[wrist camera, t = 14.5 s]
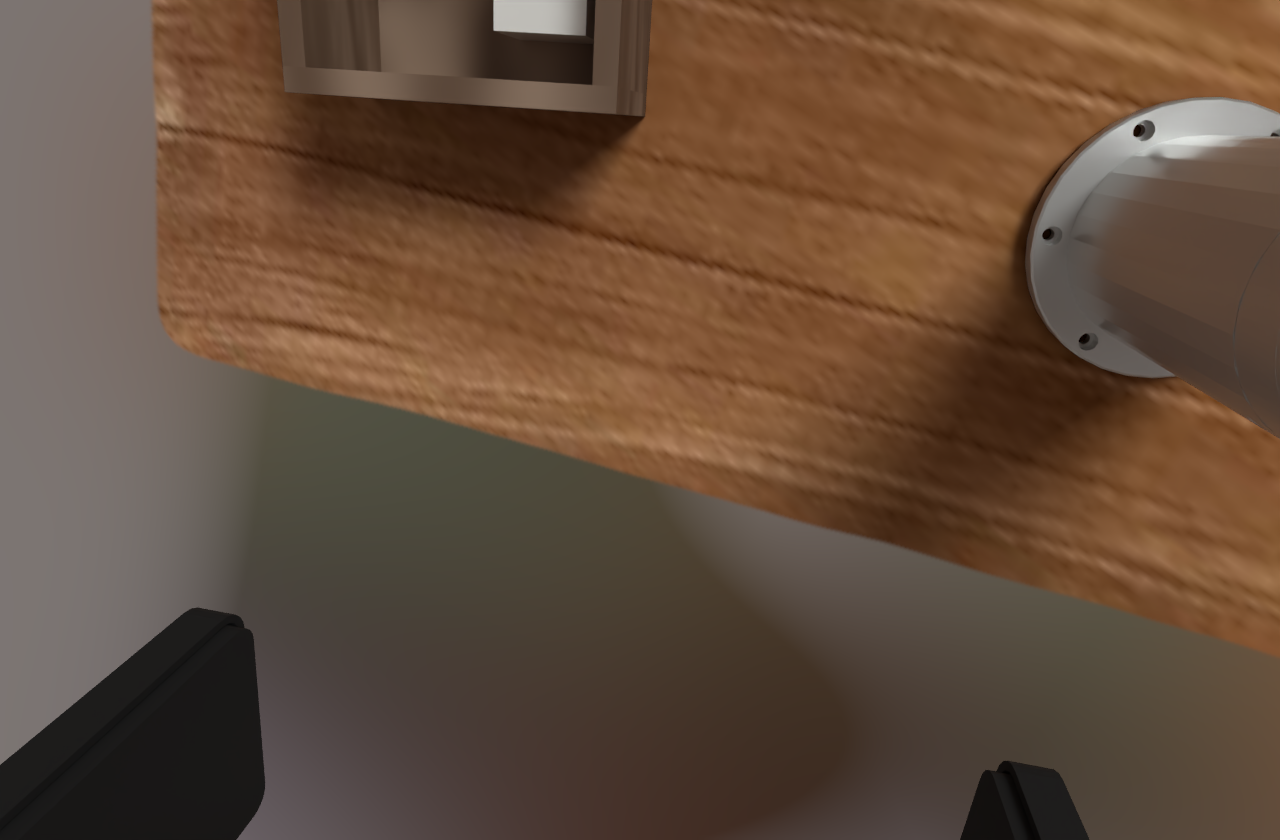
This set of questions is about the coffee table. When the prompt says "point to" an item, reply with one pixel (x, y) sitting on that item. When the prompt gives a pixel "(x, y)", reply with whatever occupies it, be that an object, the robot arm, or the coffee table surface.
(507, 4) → the cube
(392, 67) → the box
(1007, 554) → the coffee table surface
